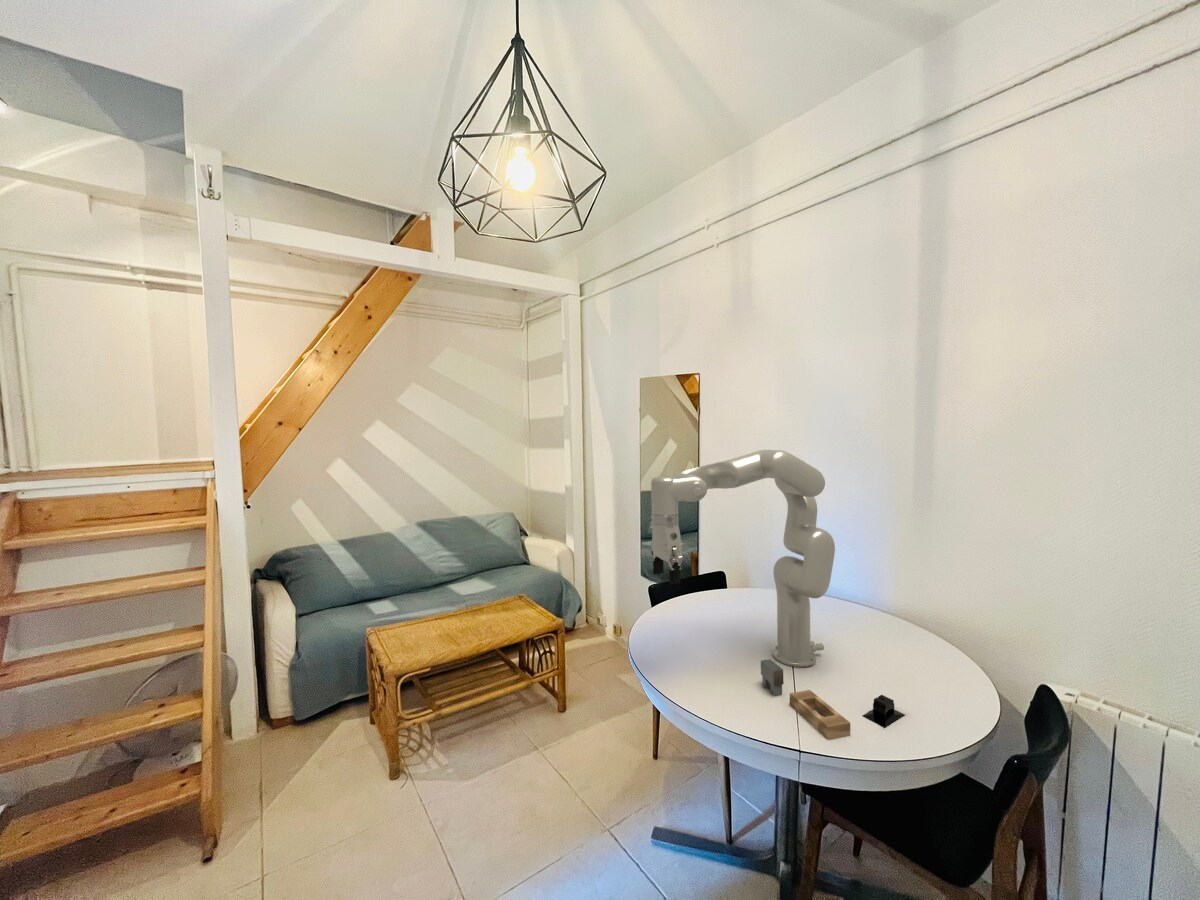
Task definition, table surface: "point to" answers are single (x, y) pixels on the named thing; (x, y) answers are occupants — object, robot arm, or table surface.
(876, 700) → the black stepped block
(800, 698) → the slotted wooden block
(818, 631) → the table surface
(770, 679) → the clip
